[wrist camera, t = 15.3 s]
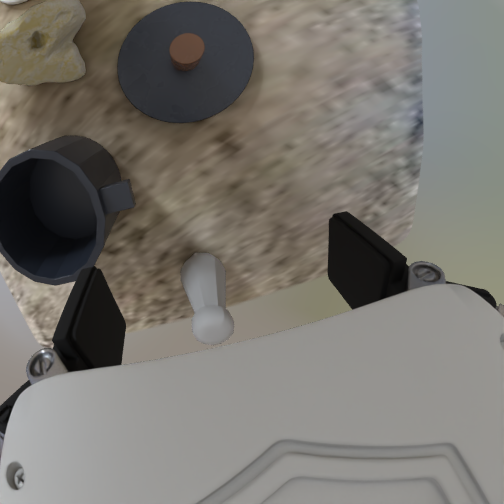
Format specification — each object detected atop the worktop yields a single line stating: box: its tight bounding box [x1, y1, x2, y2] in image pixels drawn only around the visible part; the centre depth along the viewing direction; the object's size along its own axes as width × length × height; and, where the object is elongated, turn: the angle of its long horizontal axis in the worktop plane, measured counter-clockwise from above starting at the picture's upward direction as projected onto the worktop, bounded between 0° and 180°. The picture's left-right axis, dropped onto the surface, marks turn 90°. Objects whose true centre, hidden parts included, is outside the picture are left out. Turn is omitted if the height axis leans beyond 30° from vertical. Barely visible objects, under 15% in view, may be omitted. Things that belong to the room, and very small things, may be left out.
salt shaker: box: [181, 253, 234, 345], centre depth 32 cm, size 6×6×13 cm
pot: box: [0, 136, 136, 285], centre depth 24 cm, size 14×19×10 cm
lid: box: [117, 2, 254, 123], centre depth 22 cm, size 15×15×7 cm
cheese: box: [0, 0, 86, 86], centre depth 16 cm, size 15×7×15 cm
